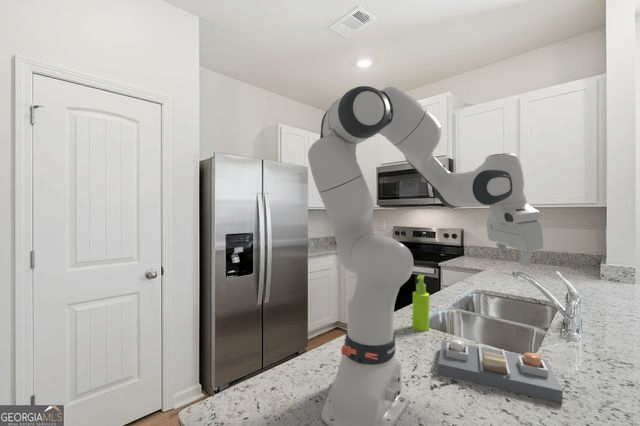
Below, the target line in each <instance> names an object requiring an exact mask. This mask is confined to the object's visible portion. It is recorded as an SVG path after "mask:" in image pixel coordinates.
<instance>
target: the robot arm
mask: <svg viewBox="0 0 640 426" xmlns="http://www.w3.org/2000/svg"><path fill="white" fill-rule="evenodd" d="M377 134H379V135H381V136H383V137H385V138H386V140H387V141H388V142H390V143H391V144H392V145H393V146H394V147H396V149H397V150H399V151H400V152H401V153H402V154H403V156H404V158H405V160H406V162H407V163H408V164H409V166H411V167H412V168H413V170H415V171H416V173H418V174H419V176H421V178H422V179H424V181H425V182H426V183H427V184H428V185H429V186H430V187H431V188H432V190H433V191H434V193H435V195H436V196H437V198H438V199H439V201H440V202H441V204H443V205H444V207H447V208H449V209H457V208H463V207H466V208H467V207H469V208H470V207H487V206H488V210H489V214H488V218H487V219H486V231H487V237H488V240H489V241H490V242H494V243H496V247H497V249H498V251H499V254H500V257H501V258H502V259H508V258H509V259H510V251H508V248H507V247H510V248H514V249H516V250H520V254H521V258H519V264H520V265H521V266H524V267H529V266H530V267H531V258H532V256H533V253H534V252H539V251H542V250H543V248H544V235H543V228H542V224H541V222H540V221H539V220H541V219H542V214H541V212H540V211H539V210H538V209H536V208H534V207H532V206H531V205H529V204H528V203H527V198H526V196H525V192H524V187H525V179H524V174H523V169H522V165H521V162H520V161H521V160H520V159H519V157H518V156H517V155H516V154H514V153H510V152H509V153H507V152H505V153H496V154H490V155H487V156H486V158H485V160H484V162H482V164H481V165H480V166H478V167H477V168H475V169H474V170H470V171H466V172H459V173H458V172H451V171H449V170H448V169H446V167H445V166H444V165H443V164H442V163H441V162H440V161H439V160H438V158H437V157H435V155H434V154H433V153H434V151H435V150H436V148H437V147H438V145H439V143H440V140H441V138H442V137H441V135H442V127H441V124H440V122H439V121H438V120H437V118H436V117H435V115H433V113H432V112H430V110H429V109H427V108H426V107H424V106H423V105H422V103H420V102H419V101H418V100H416V99H415V98H413V97H412V96H411V95H409V94H408V93H406V92H405V91H403V90H401V89H399V88H398V87H395V86H388V87H385V88H382V89H380V90H379V89H377V88H375V87H373V86H367V85H360V86H356V87H354V88H351V89H350V90H348V91H347V92H345V93H344V94H343V95H342V96H341V97H339V98H338V99H336V100H335V101H334V102H333V103H332V104H331V105H330V107H329V108H328V109H327V111H325V113H324V115H323V117H322V120H321V124H320V136H319V137H320V138H318V140H316V141H314V142H313V144H311V146H310V147H309V148H308V152H307V157H308V164H309V167H310V172H311V175H312V178H313V181H314V184H315V186H316V189H317V192H318V195H319V196H320V199H321V202H322V203H323V206H324V208H325V211H326V213H327V215H328V218H329V221H330V223H331V226H332V231H333V233H334V234H333V235H334V240H335V243H336V254H337V258H338V260H339V262H340V264H341V265H342V266H343V267H344V268H345V269H346V270H347V271H348V272H351V273H353V274H354V275H355V276H356V283H355V289H354V291H353V295H352V296H351V298H350V299H349V300H348V302H347V329H346V330H347V331H346V333H345V338H344V344H343V345H342V346H341V349H340V350H341V351H340V353H341V355H342V356H341V358H340V362H339V365H338V368H337V372H336V375H335V377H334V379H333V382H332V384H331V386H330V389H329V391H328V394H327V397H326V399H325V400H326V401H325V402H324V405H323V408H322V411H321V416H320V418H321V419H320V420H322V422H323V423H324V424H326V426H395V425H396V423H397V422H398V421H399V419H400V418H401V415H402V414H403V413H404V411H405V410H406V409H407V407H408V405H409V404H410V398H409V396H408V395H407V394H405V393H404V392H403V375H402V364H401V363H400V362H399V361H398V359H397V358H396V355H395V354H396V337H395V336H394V319H395V318H394V317H395V316H394V315H395V304H396V300H397V296H398V294H399V292H400V288H401V287H402V286H403V285H404V284H405V283H406V282H408V281H409V279H410V277H411V276H412V274H413V271H414V268H415V267H414V265H415V264H414V257H413V253H412V252H411V250H410V249H409V248H408V247H407V246H406V245H404V244H403V243H402V242H400V241H398V240H397V239H395V238H393V237H391V236H390V237H389V236H385V235H379V234H378V232H377V231H376V228H375V225H374V224H375V223H374V219H373V218H374V216H373V212H374V209H375V202H374V200H373V196H372V194H371V192H370V189H369V187H368V184H367V182H366V179H365V176H364V175H363V172H362V170H361V167H360V165H359V164H358V163H359V162H358V161H357V160H358V158H357V154H356V152H357V145H358V144H361V143H362V142H365V141H366V140H369V138H371V137H374V136H376V135H377Z"/></svg>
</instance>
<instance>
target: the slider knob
mask: <svg viewBox="0 0 640 426" xmlns="http://www.w3.org/2000/svg"><path fill="white" fill-rule="evenodd" d="M483 362H484V369H485V370H490V371H495V372H500V373H504V374H506V360H505V357H504V355H500V354H495V353H490V352H485V351H484V360H483Z"/></svg>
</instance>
